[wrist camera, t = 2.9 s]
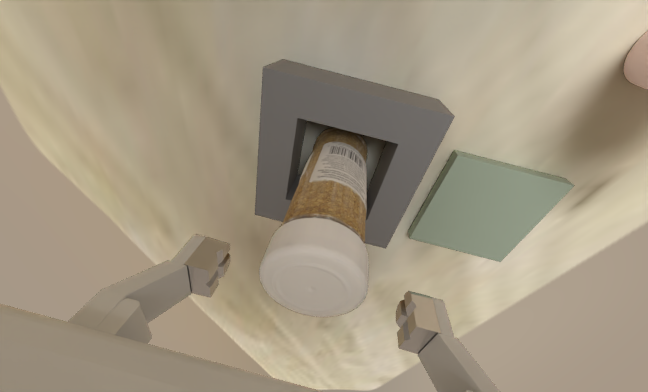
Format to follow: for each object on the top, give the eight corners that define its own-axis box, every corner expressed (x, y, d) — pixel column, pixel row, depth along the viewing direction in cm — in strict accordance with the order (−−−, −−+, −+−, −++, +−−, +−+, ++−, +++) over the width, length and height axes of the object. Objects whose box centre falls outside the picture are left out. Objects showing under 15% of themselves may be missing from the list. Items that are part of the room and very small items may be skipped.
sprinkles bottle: (303, 150, 21) (235, 282, 10) (340, 112, 19) (303, 230, 8) (341, 183, 23) (316, 332, 12) (380, 151, 20) (393, 299, 9)
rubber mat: (454, 149, 19) (457, 155, 19) (565, 178, 19) (574, 185, 19) (408, 231, 25) (409, 238, 24) (496, 254, 25) (500, 261, 24)
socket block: (282, 59, 18) (263, 67, 14) (438, 99, 18) (454, 116, 14) (270, 189, 24) (254, 214, 21) (383, 218, 24) (385, 248, 21)
